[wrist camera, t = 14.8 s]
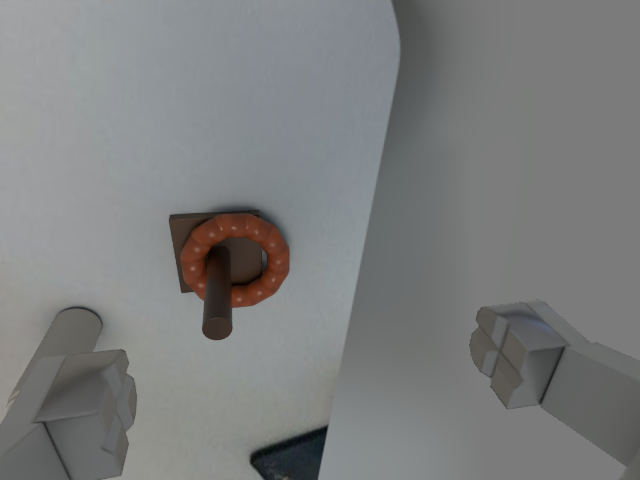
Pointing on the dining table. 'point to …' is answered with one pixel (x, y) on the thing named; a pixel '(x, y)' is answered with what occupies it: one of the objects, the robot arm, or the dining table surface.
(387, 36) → the dining table surface
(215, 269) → the post
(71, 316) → the beverage can
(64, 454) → the robot arm
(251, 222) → the ring
